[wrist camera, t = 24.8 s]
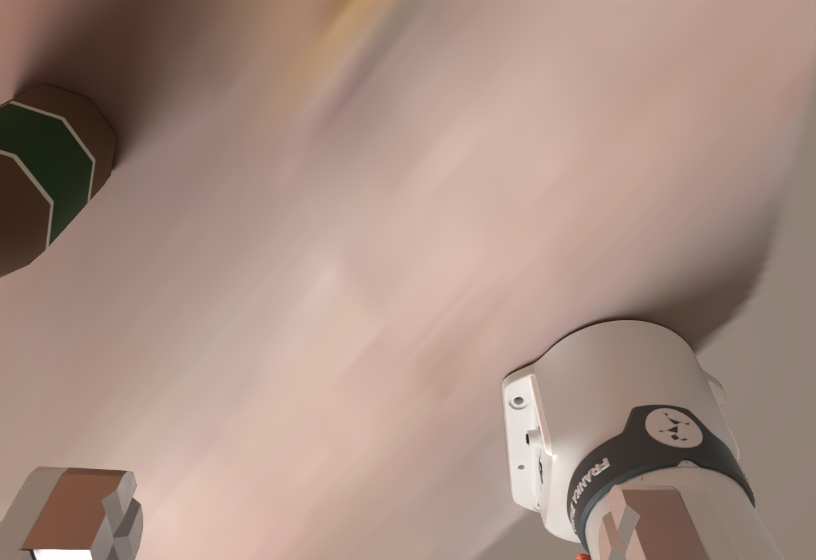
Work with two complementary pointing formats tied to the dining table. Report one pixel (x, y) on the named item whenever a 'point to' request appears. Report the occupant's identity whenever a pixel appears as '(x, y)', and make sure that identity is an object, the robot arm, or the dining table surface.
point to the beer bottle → (47, 168)
